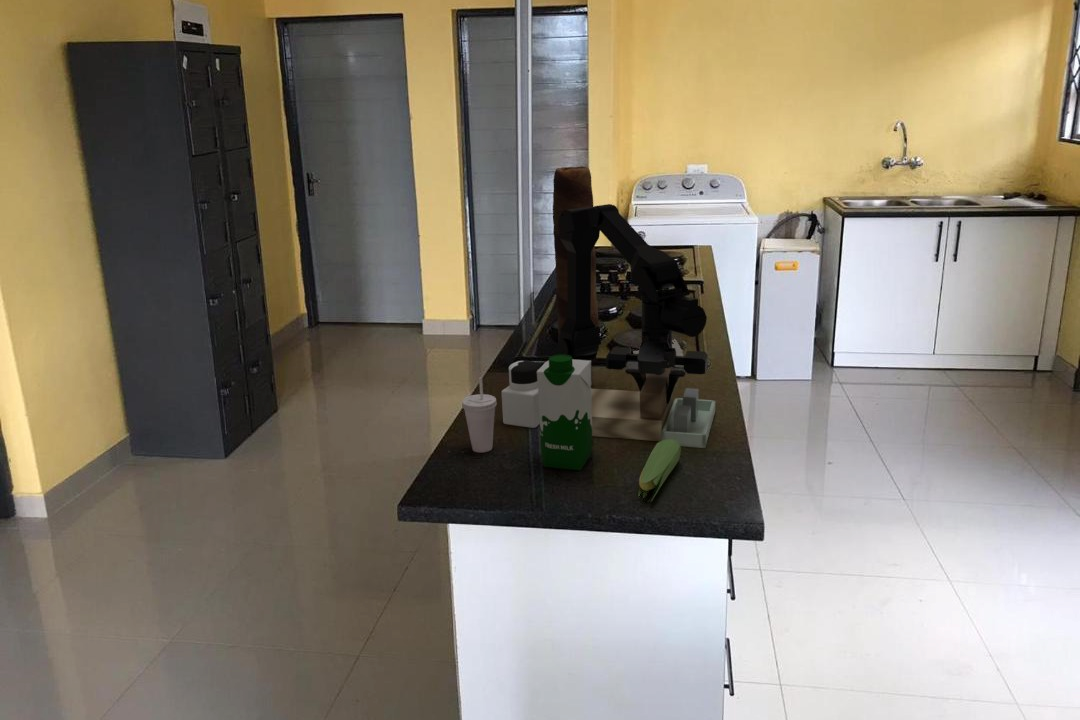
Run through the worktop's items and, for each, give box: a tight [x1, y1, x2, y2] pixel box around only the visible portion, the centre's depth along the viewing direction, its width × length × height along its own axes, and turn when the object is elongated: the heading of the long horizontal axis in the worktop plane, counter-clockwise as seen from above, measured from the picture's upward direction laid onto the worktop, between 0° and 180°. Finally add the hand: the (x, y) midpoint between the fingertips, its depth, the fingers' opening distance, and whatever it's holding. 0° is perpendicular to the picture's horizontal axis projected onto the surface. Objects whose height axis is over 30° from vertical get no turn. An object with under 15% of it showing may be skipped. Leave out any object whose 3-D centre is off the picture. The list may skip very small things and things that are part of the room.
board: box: [591, 388, 674, 442], centre depth 170 cm, size 17×15×4 cm
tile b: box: [674, 405, 691, 433], centre depth 162 cm, size 5×5×2 cm
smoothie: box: [461, 377, 497, 453], centre depth 159 cm, size 6×6×14 cm
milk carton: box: [537, 354, 593, 471], centre depth 152 cm, size 9×9×20 cm
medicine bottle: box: [500, 360, 540, 429], centre depth 172 cm, size 7×7×12 cm
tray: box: [662, 397, 716, 449], centre depth 166 cm, size 8×18×2 cm, turn 164°
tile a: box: [682, 387, 699, 422], centre depth 170 cm, size 5×5×2 cm
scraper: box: [639, 368, 672, 419], centre depth 167 cm, size 4×14×5 cm, turn 164°
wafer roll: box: [552, 166, 600, 343], centre depth 210 cm, size 10×11×45 cm
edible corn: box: [637, 439, 682, 503], centre depth 145 cm, size 5×20×5 cm
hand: (656, 402), depth 167 cm, fingers closed on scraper, 4 cm apart
